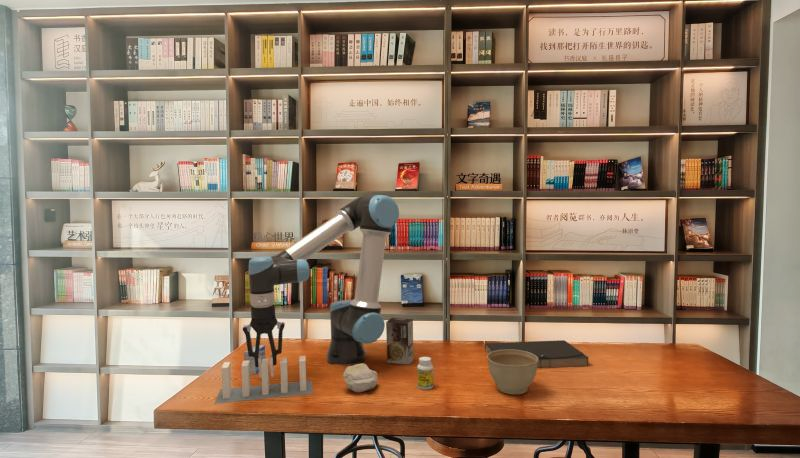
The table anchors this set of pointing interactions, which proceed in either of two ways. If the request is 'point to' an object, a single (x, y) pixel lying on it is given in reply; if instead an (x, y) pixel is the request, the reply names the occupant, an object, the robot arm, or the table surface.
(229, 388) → the domino
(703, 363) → the table surface
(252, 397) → the mat
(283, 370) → the domino
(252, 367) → the medicine box
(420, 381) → the supplement bottle
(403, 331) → the coffee box
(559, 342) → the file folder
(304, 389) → the domino
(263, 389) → the domino
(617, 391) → the table surface
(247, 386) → the domino
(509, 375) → the planter bowl
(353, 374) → the fossil replica
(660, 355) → the table surface
